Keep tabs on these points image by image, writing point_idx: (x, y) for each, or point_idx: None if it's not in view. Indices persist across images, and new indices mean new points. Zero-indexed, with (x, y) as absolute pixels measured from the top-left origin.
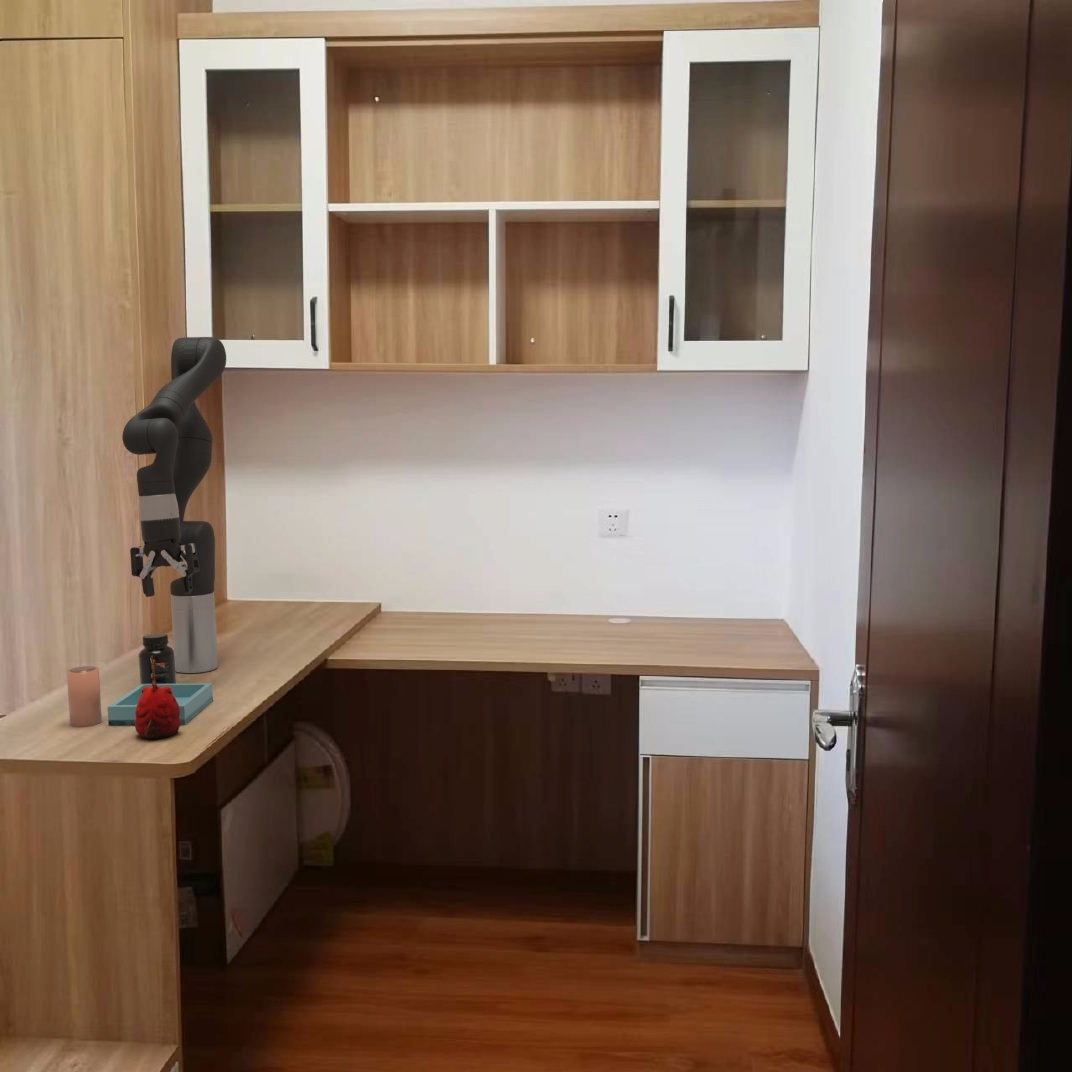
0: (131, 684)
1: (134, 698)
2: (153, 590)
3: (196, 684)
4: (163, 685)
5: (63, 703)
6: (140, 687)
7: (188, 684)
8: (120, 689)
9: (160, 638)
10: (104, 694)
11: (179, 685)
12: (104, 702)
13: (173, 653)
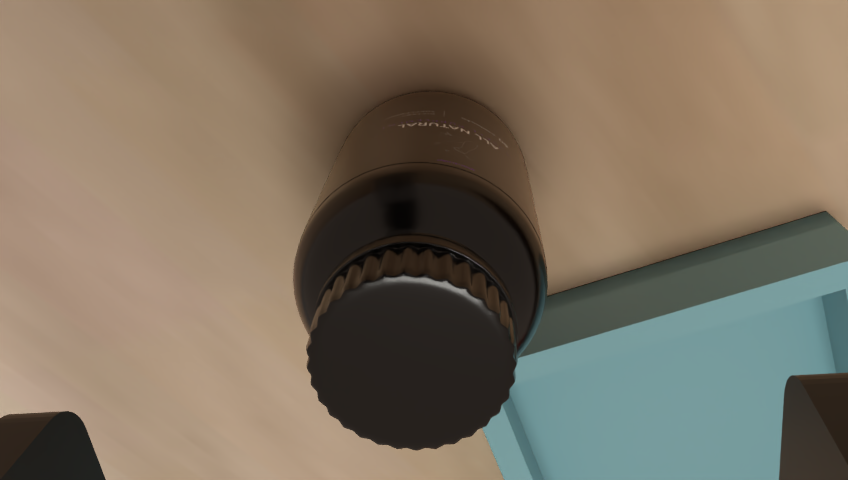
0: (128, 75)
1: (536, 475)
2: (31, 477)
3: (786, 298)
4: (597, 357)
5: (131, 444)
6: (506, 426)
7: (738, 312)
8: (164, 183)
9: (503, 397)
10: (172, 283)
11: (687, 330)
12: (294, 385)
13: (537, 237)
